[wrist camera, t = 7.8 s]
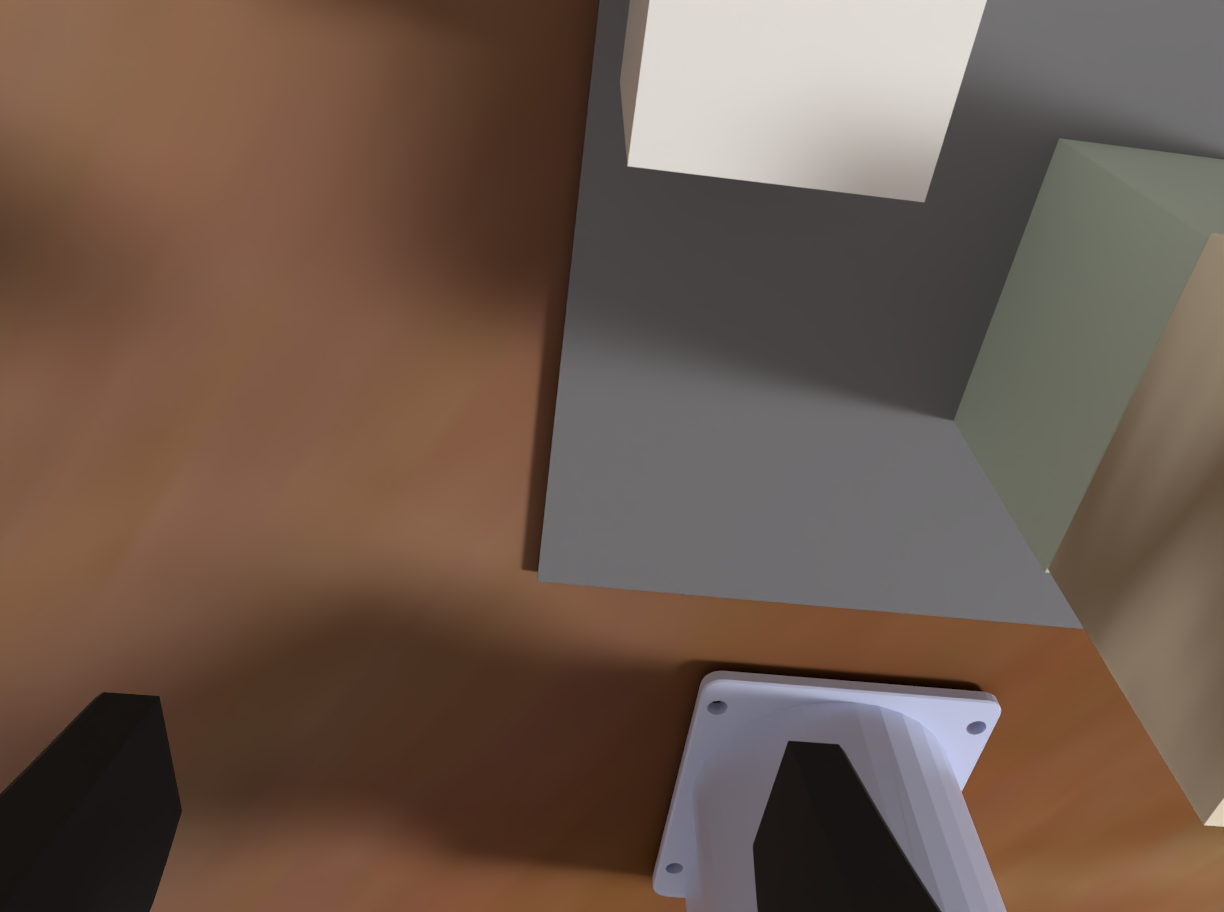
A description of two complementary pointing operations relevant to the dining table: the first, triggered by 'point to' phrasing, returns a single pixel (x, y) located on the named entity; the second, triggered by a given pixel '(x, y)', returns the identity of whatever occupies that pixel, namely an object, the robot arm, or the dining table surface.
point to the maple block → (1164, 544)
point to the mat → (834, 334)
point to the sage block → (1082, 321)
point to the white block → (796, 89)
